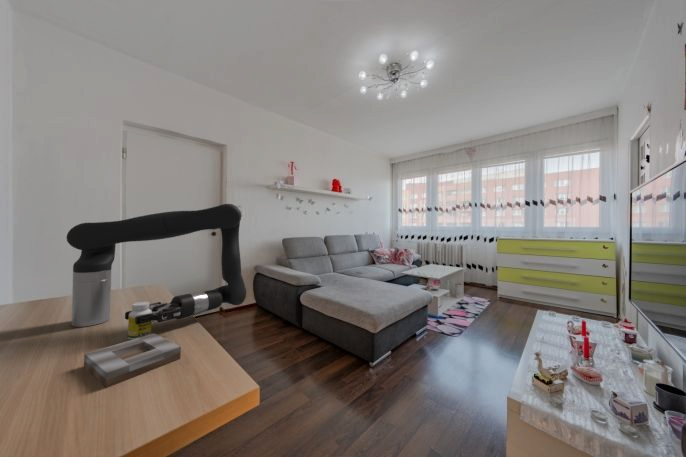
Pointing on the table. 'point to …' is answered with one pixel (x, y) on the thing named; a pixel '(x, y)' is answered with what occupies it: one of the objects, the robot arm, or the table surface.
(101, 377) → the mount block
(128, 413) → the table surface
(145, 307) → the supplement bottle
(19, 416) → the table surface
